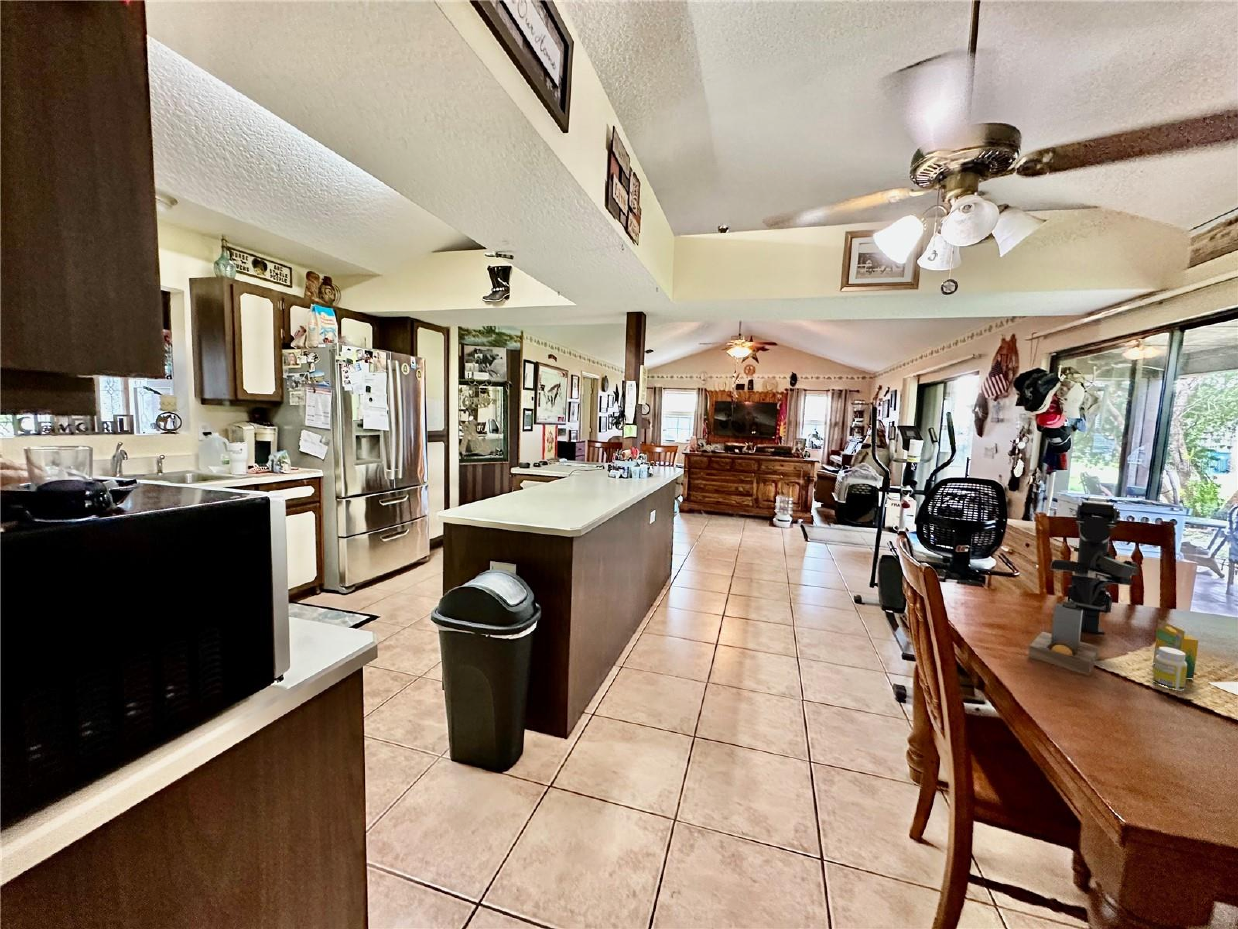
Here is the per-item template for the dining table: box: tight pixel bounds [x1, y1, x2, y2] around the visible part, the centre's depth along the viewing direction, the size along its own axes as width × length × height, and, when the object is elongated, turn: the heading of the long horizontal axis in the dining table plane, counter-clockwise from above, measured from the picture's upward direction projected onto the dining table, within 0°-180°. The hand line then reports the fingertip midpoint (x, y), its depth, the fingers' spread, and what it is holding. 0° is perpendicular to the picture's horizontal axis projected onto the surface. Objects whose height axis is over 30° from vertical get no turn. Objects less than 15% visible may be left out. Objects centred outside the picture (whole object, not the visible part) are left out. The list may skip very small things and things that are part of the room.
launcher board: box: [1027, 631, 1100, 676], centre depth 121 cm, size 14×11×3 cm
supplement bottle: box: [1152, 647, 1187, 690], centre depth 108 cm, size 5×5×8 cm
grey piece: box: [1051, 600, 1083, 650], centre depth 121 cm, size 2×5×11 cm, turn 38°
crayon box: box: [1152, 619, 1199, 679], centre depth 114 cm, size 7×3×12 cm, turn 166°
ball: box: [1051, 645, 1073, 655], centre depth 119 cm, size 4×4×4 cm
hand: (1087, 604), depth 127 cm, fingers closed
